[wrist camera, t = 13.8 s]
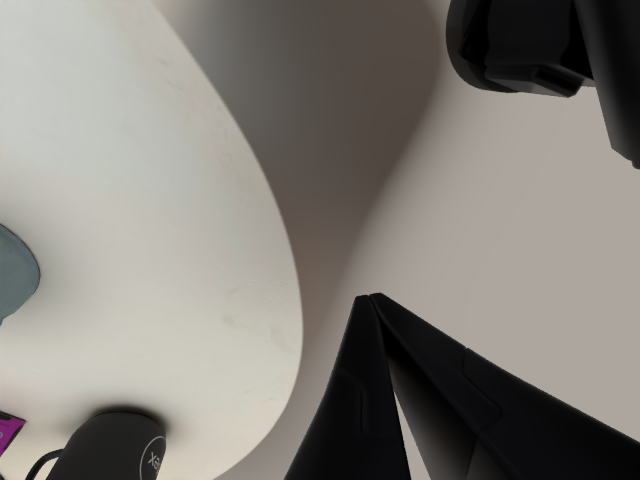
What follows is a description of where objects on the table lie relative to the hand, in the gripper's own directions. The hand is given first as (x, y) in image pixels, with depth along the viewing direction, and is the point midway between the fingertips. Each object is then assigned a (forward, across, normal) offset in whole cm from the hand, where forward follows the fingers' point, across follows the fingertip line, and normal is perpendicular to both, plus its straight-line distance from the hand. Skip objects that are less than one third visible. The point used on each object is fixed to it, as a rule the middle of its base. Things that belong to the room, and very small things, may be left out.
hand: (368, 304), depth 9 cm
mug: (+12, -27, -24) cm, 38 cm away
